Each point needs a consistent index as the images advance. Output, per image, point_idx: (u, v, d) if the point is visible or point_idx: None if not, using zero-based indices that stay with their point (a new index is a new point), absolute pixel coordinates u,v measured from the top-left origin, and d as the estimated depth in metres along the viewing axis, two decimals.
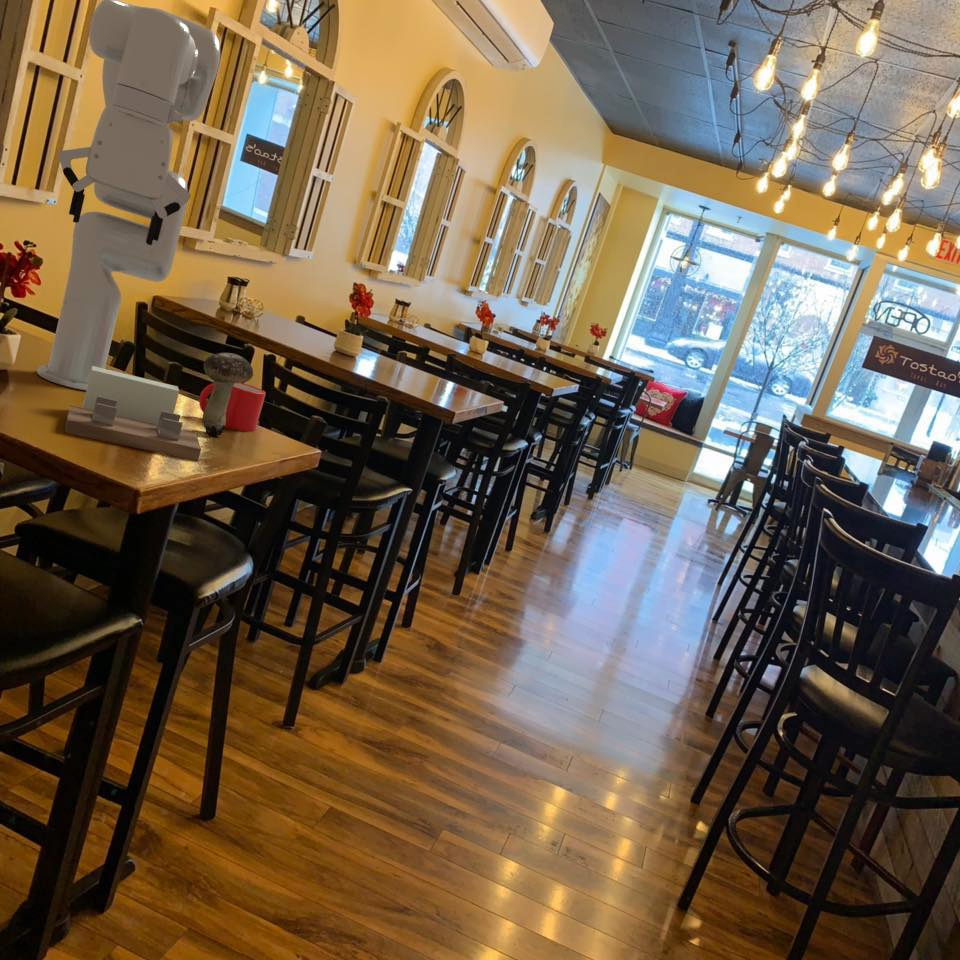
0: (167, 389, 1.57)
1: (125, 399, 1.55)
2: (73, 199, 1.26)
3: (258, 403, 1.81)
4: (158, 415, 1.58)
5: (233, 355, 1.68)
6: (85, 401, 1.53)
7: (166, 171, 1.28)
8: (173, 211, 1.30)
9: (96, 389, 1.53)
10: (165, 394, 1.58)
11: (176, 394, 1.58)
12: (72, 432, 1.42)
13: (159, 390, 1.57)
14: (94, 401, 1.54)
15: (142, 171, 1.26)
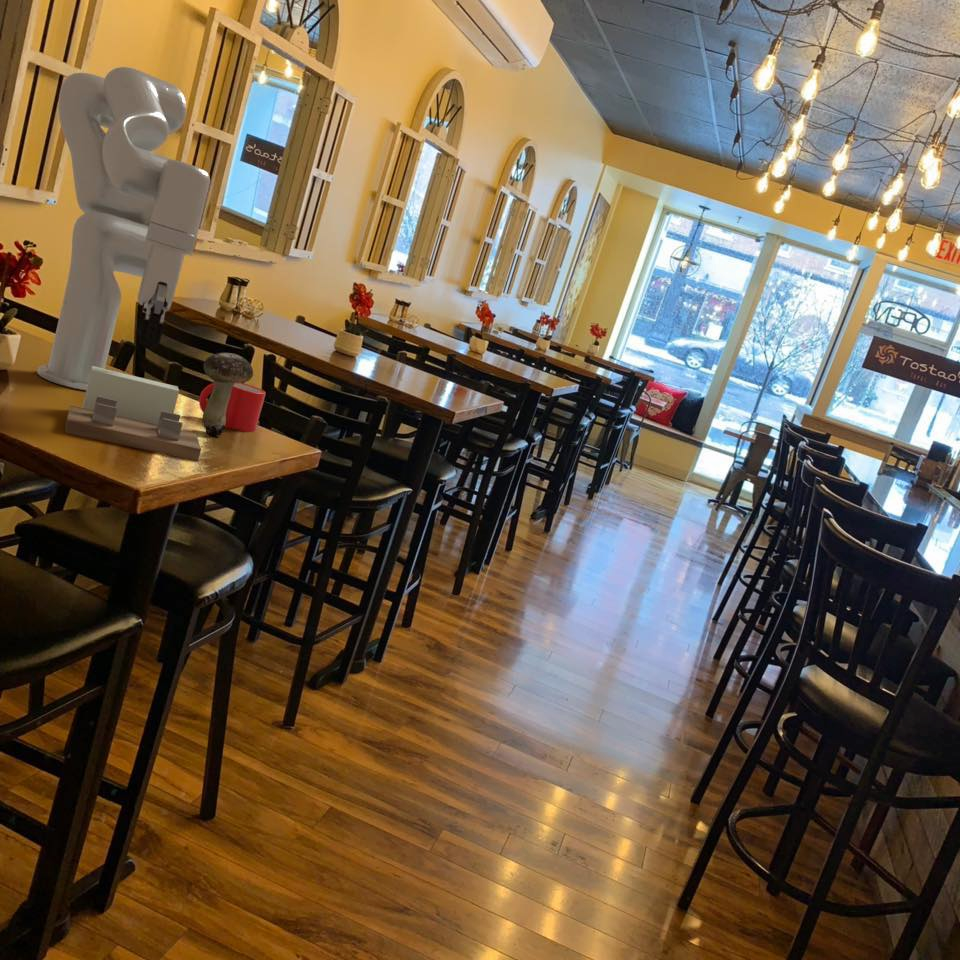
0: (167, 389, 1.57)
1: (125, 399, 1.55)
2: (157, 330, 1.50)
3: (258, 403, 1.81)
4: (158, 415, 1.58)
5: (233, 355, 1.68)
6: (85, 401, 1.53)
7: None
8: None
9: (96, 389, 1.53)
10: (165, 394, 1.57)
11: (176, 394, 1.58)
12: (72, 432, 1.42)
13: (159, 390, 1.57)
14: (94, 401, 1.54)
15: None
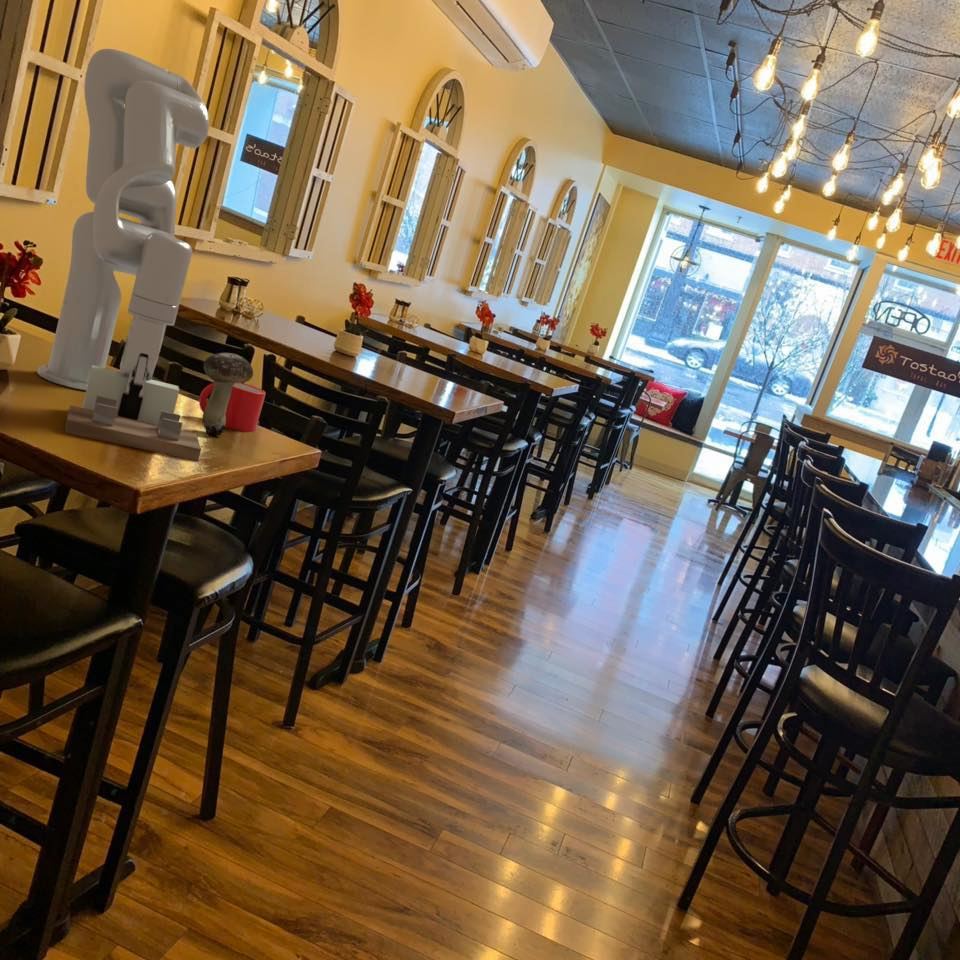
0: (167, 388, 1.57)
1: None
2: (136, 404, 1.55)
3: (258, 403, 1.81)
4: (158, 414, 1.58)
5: (233, 355, 1.68)
6: (85, 400, 1.53)
7: None
8: None
9: (96, 388, 1.53)
10: (166, 393, 1.57)
11: (176, 393, 1.58)
12: (72, 432, 1.42)
13: (159, 389, 1.57)
14: (94, 400, 1.54)
15: None
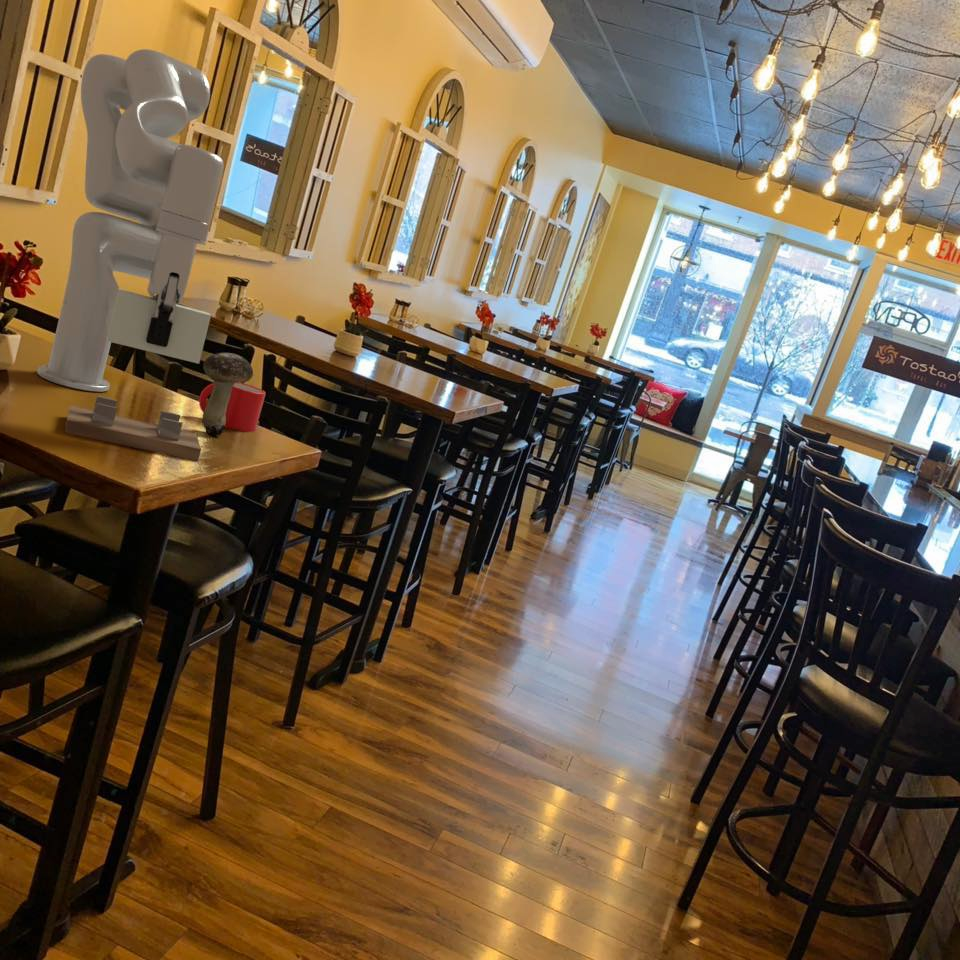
0: (198, 313, 1.48)
1: None
2: (166, 329, 1.46)
3: (258, 403, 1.81)
4: (189, 341, 1.49)
5: (233, 355, 1.68)
6: (112, 325, 1.44)
7: None
8: None
9: (124, 311, 1.44)
10: (197, 318, 1.48)
11: (208, 319, 1.49)
12: (72, 432, 1.42)
13: (190, 314, 1.48)
14: (121, 325, 1.44)
15: None
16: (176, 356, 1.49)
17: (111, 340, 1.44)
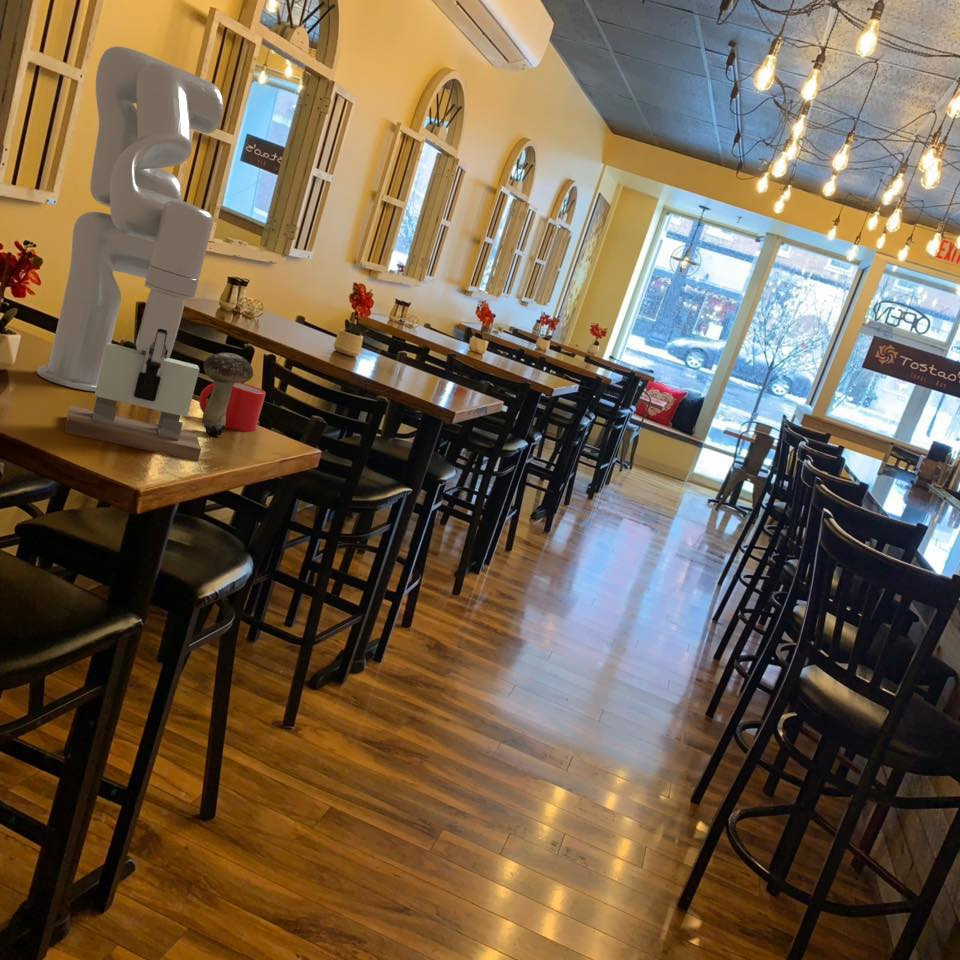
0: (187, 367, 1.48)
1: None
2: (153, 383, 1.46)
3: (258, 403, 1.81)
4: (177, 395, 1.48)
5: (233, 355, 1.68)
6: (100, 380, 1.44)
7: None
8: None
9: (111, 366, 1.44)
10: (185, 372, 1.48)
11: (196, 373, 1.48)
12: (72, 432, 1.42)
13: (178, 368, 1.47)
14: (109, 380, 1.44)
15: None
16: (164, 410, 1.48)
17: (99, 395, 1.44)
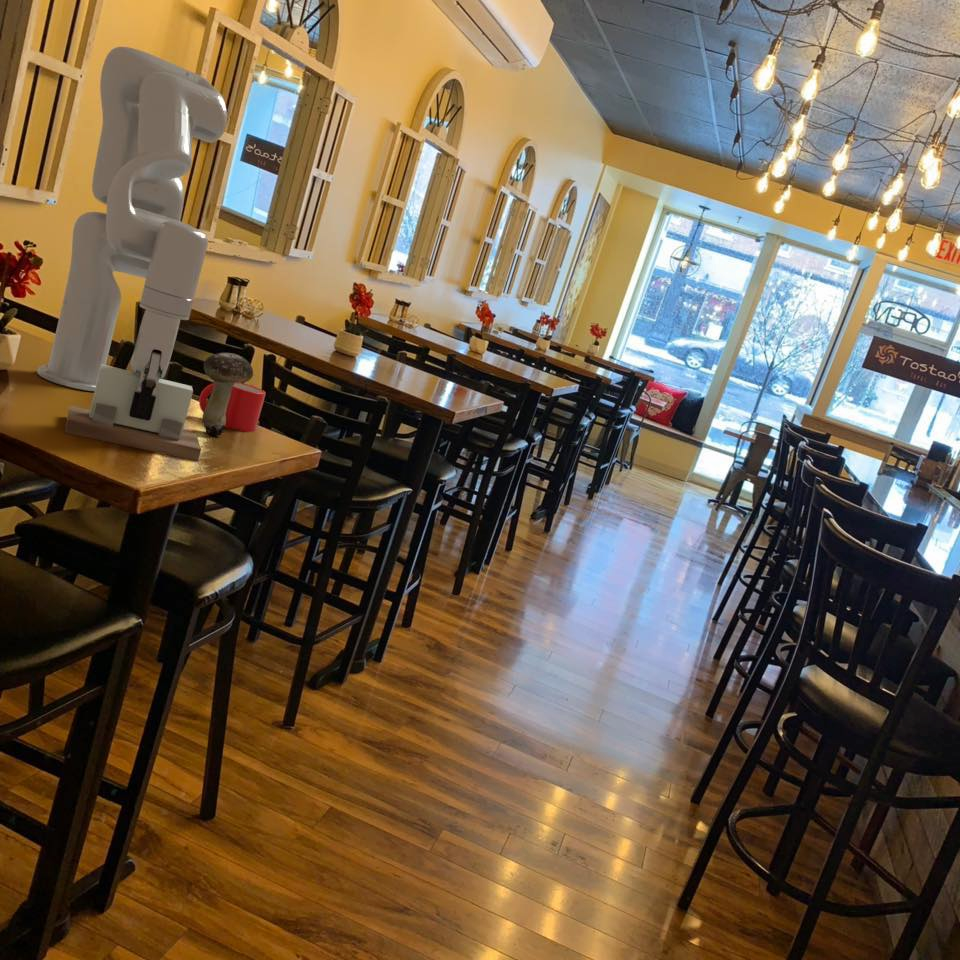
0: (180, 389, 1.49)
1: None
2: (149, 403, 1.45)
3: (258, 403, 1.81)
4: (171, 416, 1.49)
5: (233, 355, 1.68)
6: (94, 401, 1.45)
7: None
8: None
9: (105, 388, 1.45)
10: (179, 394, 1.49)
11: (190, 394, 1.49)
12: (72, 432, 1.42)
13: (172, 389, 1.48)
14: (103, 401, 1.45)
15: None
16: (158, 431, 1.49)
17: None
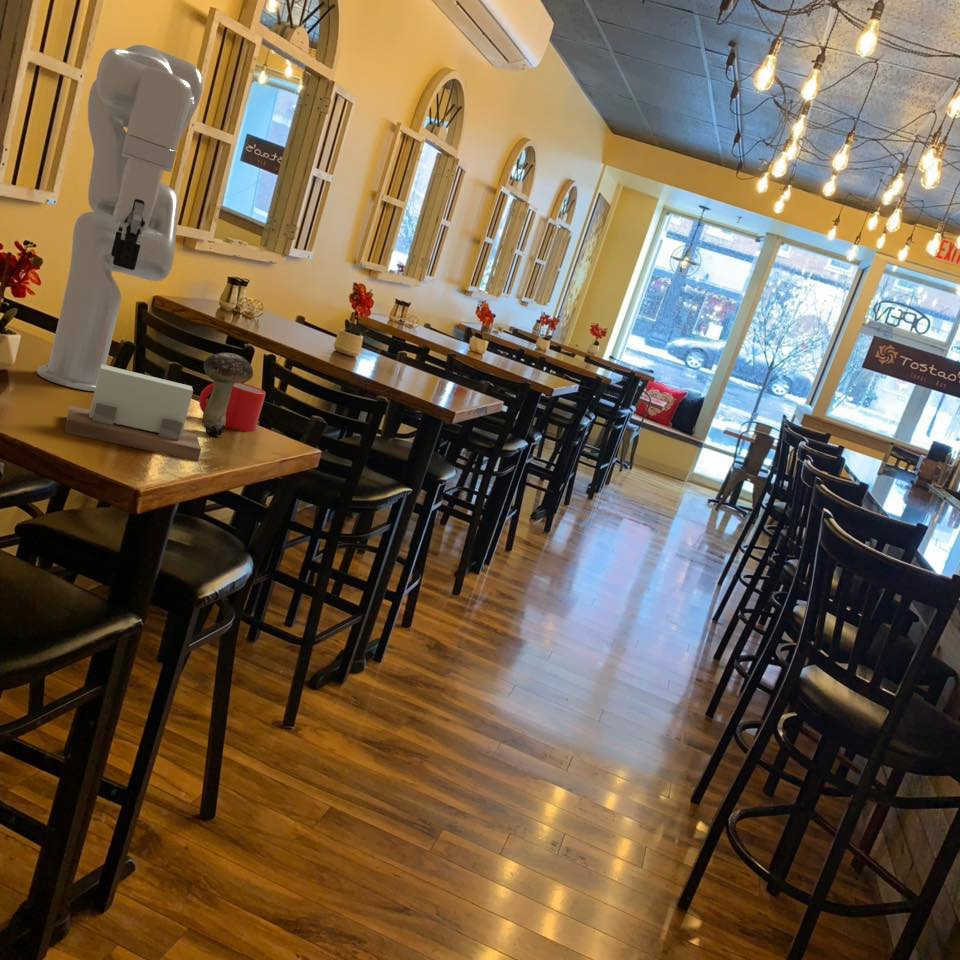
0: (180, 389, 1.49)
1: (136, 399, 1.47)
2: (133, 251, 1.42)
3: (258, 403, 1.81)
4: (171, 416, 1.49)
5: (233, 355, 1.68)
6: (94, 401, 1.45)
7: None
8: None
9: (105, 388, 1.45)
10: (179, 394, 1.49)
11: (190, 394, 1.49)
12: (72, 432, 1.42)
13: (172, 389, 1.48)
14: (103, 401, 1.45)
15: None
16: (158, 431, 1.49)
17: None
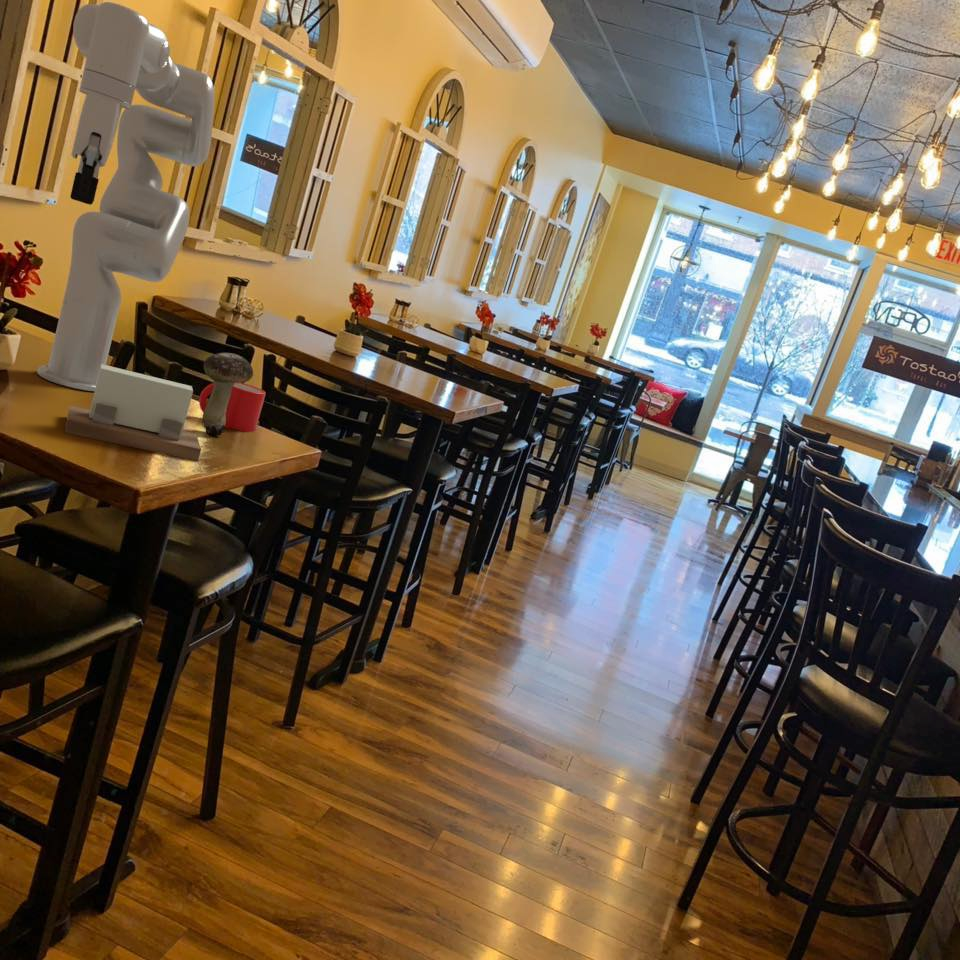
0: (180, 389, 1.49)
1: (136, 399, 1.47)
2: (90, 185, 1.42)
3: (258, 403, 1.81)
4: (171, 416, 1.49)
5: (233, 355, 1.68)
6: (94, 401, 1.45)
7: None
8: None
9: (105, 388, 1.45)
10: (179, 394, 1.49)
11: (190, 394, 1.49)
12: (72, 432, 1.42)
13: (172, 389, 1.48)
14: (103, 401, 1.45)
15: None
16: (158, 431, 1.49)
17: None
